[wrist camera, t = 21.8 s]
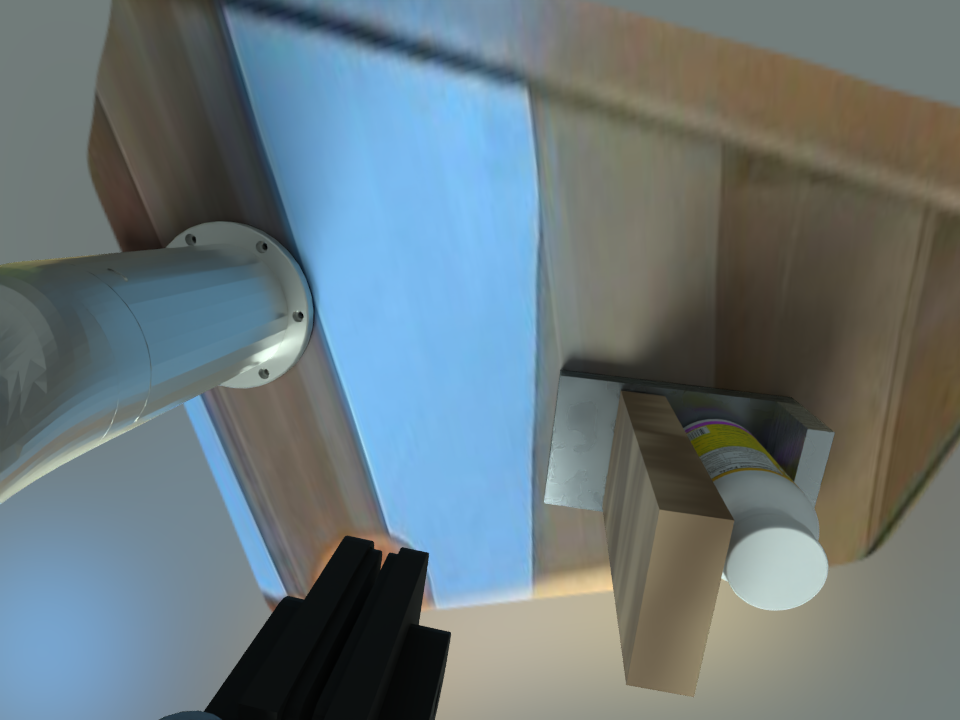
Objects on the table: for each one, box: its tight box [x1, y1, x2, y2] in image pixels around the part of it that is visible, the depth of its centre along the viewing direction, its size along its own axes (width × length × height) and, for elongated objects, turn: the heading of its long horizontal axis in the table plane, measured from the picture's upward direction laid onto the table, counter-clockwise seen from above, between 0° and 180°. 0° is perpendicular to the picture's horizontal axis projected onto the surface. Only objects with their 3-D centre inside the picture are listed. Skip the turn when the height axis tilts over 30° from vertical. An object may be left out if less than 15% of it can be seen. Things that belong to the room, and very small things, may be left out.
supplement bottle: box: [683, 419, 828, 610], centre depth 33 cm, size 7×7×13 cm
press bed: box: [544, 370, 835, 512], centre depth 38 cm, size 16×10×6 cm, turn 85°
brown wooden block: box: [602, 391, 735, 697], centre depth 32 cm, size 3×9×16 cm, turn 175°
